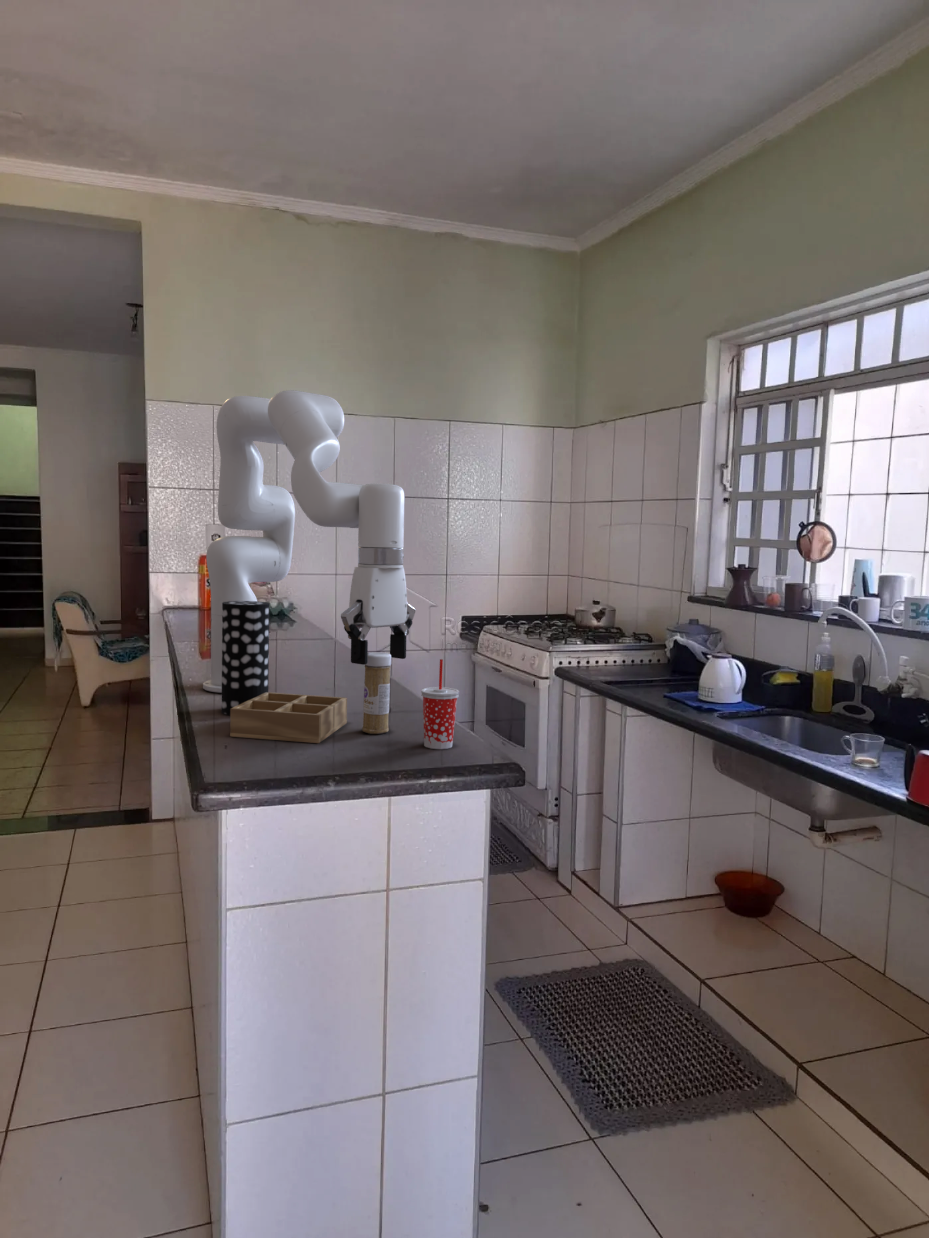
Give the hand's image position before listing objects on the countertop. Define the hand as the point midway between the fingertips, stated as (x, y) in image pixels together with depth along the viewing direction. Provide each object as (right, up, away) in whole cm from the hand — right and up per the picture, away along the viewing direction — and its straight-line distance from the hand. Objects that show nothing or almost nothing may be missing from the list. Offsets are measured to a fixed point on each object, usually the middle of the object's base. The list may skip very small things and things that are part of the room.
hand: (378, 660), depth 145 cm
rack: (-15, -12, +1) cm, 19 cm away
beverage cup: (+10, -14, -6) cm, 18 cm away
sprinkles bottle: (-1, -12, +2) cm, 12 cm away
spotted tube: (-26, -10, +14) cm, 31 cm away
